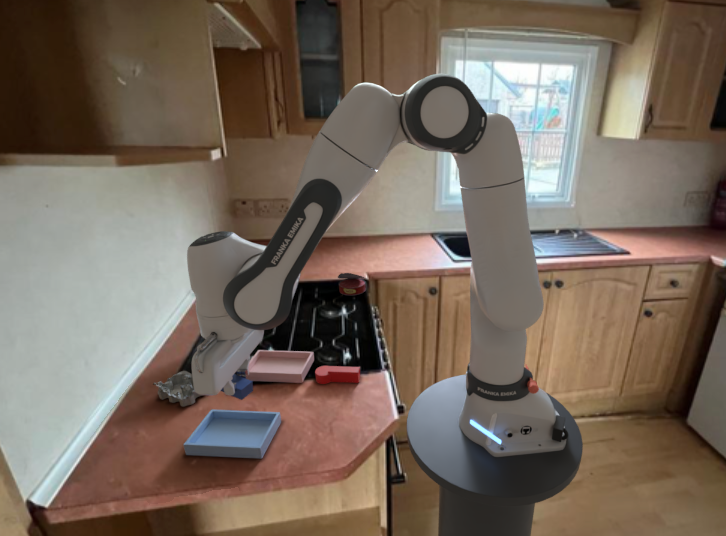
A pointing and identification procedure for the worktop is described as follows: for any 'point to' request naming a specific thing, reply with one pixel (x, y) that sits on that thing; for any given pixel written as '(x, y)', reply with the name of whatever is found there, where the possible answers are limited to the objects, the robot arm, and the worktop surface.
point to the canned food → (351, 284)
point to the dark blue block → (241, 387)
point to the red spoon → (337, 374)
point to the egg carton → (178, 389)
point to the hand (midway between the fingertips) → (237, 384)
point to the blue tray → (233, 434)
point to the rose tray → (280, 366)
